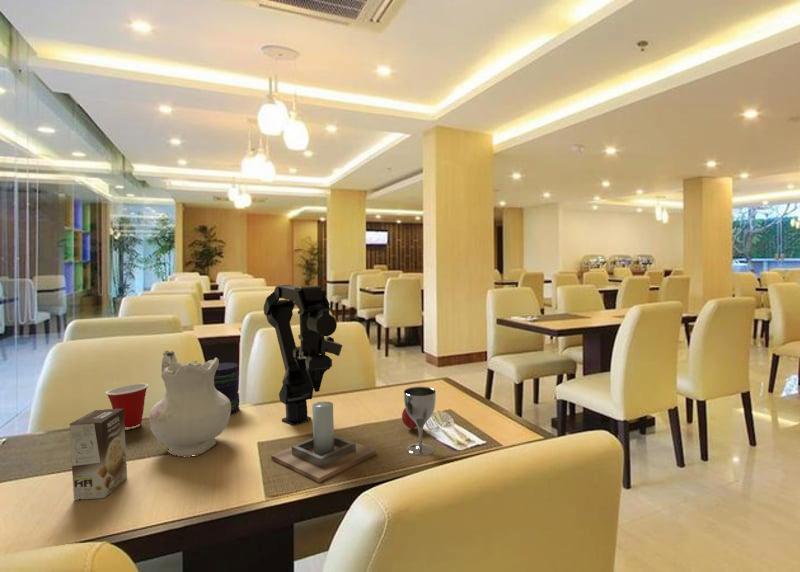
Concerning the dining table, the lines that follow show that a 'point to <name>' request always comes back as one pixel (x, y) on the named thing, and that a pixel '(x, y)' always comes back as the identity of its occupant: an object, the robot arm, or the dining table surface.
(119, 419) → the coffee box
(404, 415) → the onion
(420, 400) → the wine glass
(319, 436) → the ceramic canister
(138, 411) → the plastic cup
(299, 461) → the collar board
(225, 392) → the storage jar
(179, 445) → the ceramic pitcher
